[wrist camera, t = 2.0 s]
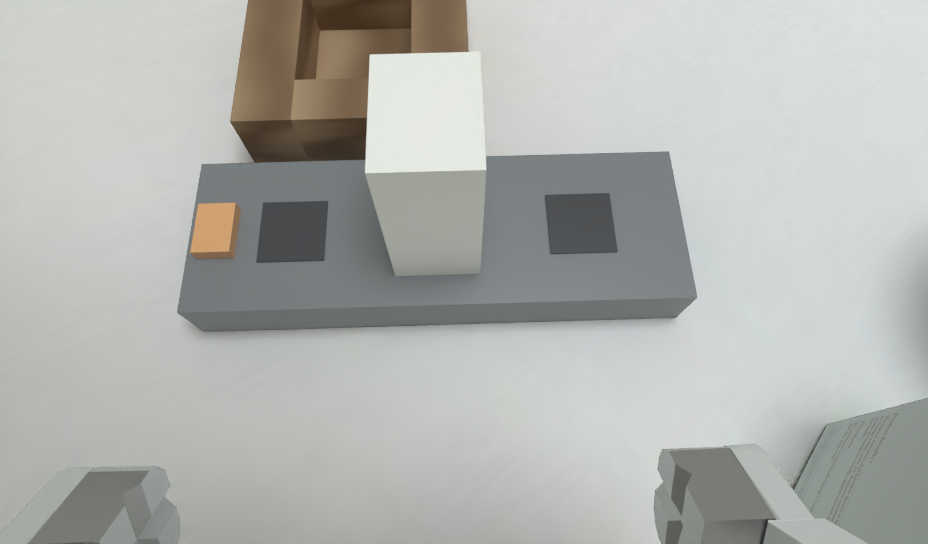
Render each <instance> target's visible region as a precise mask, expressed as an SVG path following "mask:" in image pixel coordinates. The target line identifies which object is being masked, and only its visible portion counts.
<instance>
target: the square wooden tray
mask: <svg viewBox="0 0 928 544" xmlns="http://www.w3.org/2000/svg"><path fill="white" fill-rule="evenodd" d="M448 52H468V33H467V10H466V0H248V5H247V12H246V19H245V25H244V32H243V39H242V46H241V52H240V59H239V66H238V72H237V79H236V86H235V93H234V99H233V106H232V113H231V119H230V122H231V124H232V125H233V127H234V129H235V130H236V132H237V134H238V135H239V137H240V139H241V140H242V142H243V144H244V145H245V147H246V149H247V150H248V152H249V154H250V155H251V157H252V159H253V160H254V162H255V163H266V162H303V161H340V160H365V159H366V134H367V109H368V84H369V60H370V54H409V53H448Z"/></svg>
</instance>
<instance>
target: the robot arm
mask: <svg viewBox="0 0 928 544" xmlns="http://www.w3.org/2000/svg"><path fill="white" fill-rule="evenodd" d="M658 471H659V473H660V476H661V478H662V480H663V483H662V484H661V485H660V486H659V487H658V488H657V489H656V490H655V497H654V515H655V525H656V529H657V533H658V536H659V540H660V542H661V544H868V543H866V542H864V541H863V540H861V539H859V538H857V537H856V536H854V535H852V534H851V533H849V532H847V531H845V530H844V529H842V528H840V527H838V526H837V525H835V524H833V523H832V522H830V521H828V520H826V519H815V518H814V517H813V516H812V514H811V513H810V512H809V510H808V509H807V508H806V506H805V505H804V504H803V502H802V501H801V500H800V498H799V497H798V496H797V494H796V493H795V492H794V490H793V489H792V488H791V486H790V485H789V484H788V482H787V481H786V480H785V478H784V477H783V476H782V474H781V473H780V472H779V470H778V469H777V468H776V466H775V465H774V464H773V462H772V461H771V460H770V458H769V457H768V456H767V454H766V453H765V452H764V450H763V449H762V448H761V447H759V446H758V445H756V444H747V445H729V446H724V447H702V448H677V449H662V451H661V453H660V456H659V462H658ZM169 487H170V483H169V481H168V478H167V475H166V472H165V470H164V469H162V468H160V467H158V466H141V467H97V468H67V469H64V470H62V471H60V472H57V473H56V475H55V476H54V477H53V478H52V479H51V480H50V481H49V482H48V483H47V484H46V485H45V487H44V488H43V489H42V490H41V491H40V492H39V493H38V494H37V495H36V496H35V497H34V498H33V500H32V501H31V502H30V503H29V504H28V505H27V506H26V507H25V508H24V509H23V510H22V512H21V513H20V514H19V515H18V516H17V517H16V518H15V519H14V520H13V521H12V522H11V524H10V525H9V526H8V527H7V528H6V529H5V530H4V531H3V532H2V533H1V534H0V544H178V539H179V535H180V520H179V515H178V512H177V508H176V506H174V505H173V504H172V503H171V502H170V501H168V500H167V499H166V498H165V497H164V496H165V494H166V492H167V490H168V489H169Z"/></svg>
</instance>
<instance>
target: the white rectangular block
mask: <svg viewBox="0 0 928 544" xmlns="http://www.w3.org/2000/svg"><path fill="white" fill-rule="evenodd" d="M365 175H366V179H367V182H368V185H369V189H370V192H371V196H372V199H373V202H374V206H375V209H376V212H377V216H378V219H379V223H380V226H381V229H382V233H383V236H384V239H385V243H386V246H387V250H388V253H389V256H390V260H391V263H392V267H393V270H394V273H395V276H419V275H453V274H480V269H481V253H482V236H483V219H484V203H485V186H486V152H485V133H484V113H483V94H482V75H481V56H480V52H448V53H409V54H370V60H369V84H368V109H367V134H366V159H365Z"/></svg>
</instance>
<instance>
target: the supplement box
mask: <svg viewBox="0 0 928 544" xmlns="http://www.w3.org/2000/svg"><path fill="white" fill-rule="evenodd" d="M794 492H795V493H796V494H797V496H798V497H799V498H800V500H801V501H802V502H803V504H804V505H805V506H806V508H807V509H808V510H809V512H810V513H811V514H812V516H813V517H814V518H815V519H826V520H828V521H830V522H832V523H833V524H835V525H837V526H838V527H840V528H842V529H844V530H845V531H847V532H849V533H851V534H852V535H854V536H856V537H857V538H859V539H861V540H863V541H864V542H866V543H868V544H928V398H926V399H922V400H918V401H914V402H910V403H906V404H902V405H899V406H896V407H891V408H887V409H884V410H880V411H876V412H872V413H869V414H865V415H860V416H857V417H853V418H849V419H846V420H842V421H838V422H834V423H830V424H828V425H827V426H826V428H825V430H824V432H823V434H822V436H821V438H820V439H819V441H818V443H817V445H816V447H815V449H814V451H813V453H812V455H811V457H810V459H809V461H808V463H807V465H806V467H805V469H804V471H803V473H802V475H801V477H800V479H799V481H798V483H797V485H796V487H795V489H794Z"/></svg>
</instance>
